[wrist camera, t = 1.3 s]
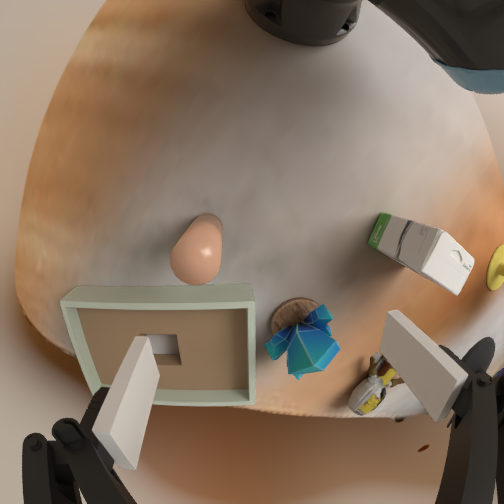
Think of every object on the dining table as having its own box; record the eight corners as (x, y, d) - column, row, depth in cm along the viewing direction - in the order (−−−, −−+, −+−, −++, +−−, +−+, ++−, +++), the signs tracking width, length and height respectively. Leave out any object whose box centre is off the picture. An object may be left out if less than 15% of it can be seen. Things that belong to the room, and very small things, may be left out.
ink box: (365, 243, 34) (419, 272, 23) (381, 210, 33) (440, 226, 22) (406, 267, 36) (459, 299, 24) (421, 237, 35) (477, 260, 23)
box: (76, 285, 32) (59, 300, 27) (251, 283, 34) (255, 300, 29) (103, 377, 36) (93, 396, 31) (252, 381, 38) (255, 404, 33)
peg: (191, 213, 31) (168, 237, 18) (222, 212, 31) (219, 235, 19) (192, 244, 32) (172, 285, 19) (223, 243, 32) (221, 284, 20)
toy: (432, 361, 37) (378, 425, 38) (415, 348, 42) (364, 409, 43) (404, 335, 34) (339, 411, 35) (384, 321, 39) (326, 392, 40)
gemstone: (254, 321, 35) (266, 381, 24) (310, 284, 35) (346, 332, 23) (282, 355, 37) (302, 416, 26) (334, 323, 37) (371, 375, 25)
